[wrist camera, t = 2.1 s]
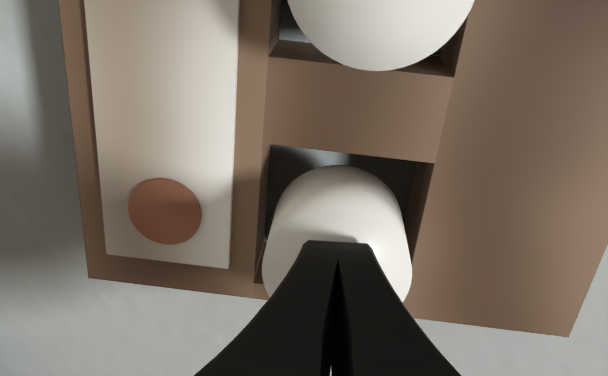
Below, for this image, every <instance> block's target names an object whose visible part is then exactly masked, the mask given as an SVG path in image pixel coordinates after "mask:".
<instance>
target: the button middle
mask: <svg viewBox="0 0 608 376" xmlns="http://www.w3.org/2000/svg"><path fill="white" fill-rule="evenodd" d="M474 1H475V0H288V4H289V6H290V9H291V12H292V15H293V16H294V18H295V20H296V22H297V24H298V26H299V28H300V29H301V30H302V32H303V33H304V35H305V36H306V37H307V38H308V40H309V41H310V42H311V43H312V44H313V45H314V46H315V47H316V48H317V49H319V50H320V51H321V52H322V53H323V54H325V55H327V56H328V57H330V58H331V59H333V60H335V61H337V62H339V63H341V64H343V65H346V66H349V67H352V68H356V69H361V70H367V71H386V70H394V69H398V68H403V67H406V66H409V65H411V64H414V63H416V62H418V61H420V60H422V59H424V58H426V57H428V56H429V55H431V54H432V53H434V52H435V51H437V50H438V49H439V48H440V47H442V46H443V45H444V44H445V43H446V42H447V41H448V40H449V39H450V38H451V37H452V36H453V35H454V34H455V33H456V32H457V30H458V29H459V28H460V26H461V25H462V23H463V22H464V20H465V19H466V17H467V15H468V13H469V12H470V10H471V8H472V5H473V3H474Z"/></svg>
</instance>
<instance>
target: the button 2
mask: <svg viewBox="0 0 608 376" xmlns="http://www.w3.org/2000/svg"><path fill="white" fill-rule="evenodd" d="M308 240H318V241H334V242H351V243H368V245H369V246H370V247H371V248H372V249H373V252H374V254H375V256H376V258H377V260H378V262H379V264H380V266H381V268H382V270H383V272H384V274H385V275H386V277H387V279H388V281H389V282H390V284H391V286H392V287H393V289H394V291H395V292H396V294H397V295H398V297H399V298H400V300H401V301H402V303H403V301H404V300H405V298H406V296H407V294H408V292H409V288H410V285H411V280H412V265H411V259H410V254H409V249H408V244H407V239H406V234H405V229H404V224H403V219H402V214H401V209H400V206H399V203H398V201H397V199H396V197H395V195H394V194H393V192H392V191H391V189H390V188H389V187H388V186H387V185H386V184H385V183H384V182H383V181H382V180H380V179H379V178H378V177H376V176H375V175H373V174H371V173H369V172H367V171H365V170H362V169H359V168H356V167H351V166H345V165H330V166H324V167H319V168H316V169H313V170H310V171H308V172H306V173H304V174H302V175H300V176H299V177H297V178H296V179H295V180H294V181H292V182H291V183H290V184H289V185H288V186H287V188H286V189H285V190H284V192H283V193H282V194H281V196H280V198H279V200H278V203H277V206H276V209H275V213H274V217H273V221H272V225H271V229H270V233H269V237H268V240H267V244H266V248H265V252H264V256H263V261H262V278H263V283H264V286H265V289H266V291H267V293H268V295H269V297H271V296H272V294H273V293H274V292H275V290H276V289H277V287H278V286H279V285H280V283H281V282H282V280H283V279H284V277H285V276H286V275H287V273H288V271H289V270H290V268H291V267H292V265H293V263H294V262H295V260H296V258H297V256H298V254H299V252H300V250H301V248H302V245H303V244H304V243H305V242H307V241H308Z"/></svg>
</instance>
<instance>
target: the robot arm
mask: <svg viewBox="0 0 608 376" xmlns="http://www.w3.org/2000/svg"><path fill="white" fill-rule="evenodd" d="M330 368H331V369H332V376H461V375H460V374H459V373H458V372H457V371H456V369H455V368H454V367H453V366H452V365H451V364H450V363H449V362H448V361H447V360H446V359H445V357H444V356H443V355H442V354H441V353H440V352H439V350H438V349H437V348H436V347H435V346H434V345H433V343H432V342H431V341H430V340H429V338H428V337H427V336H426V334H425V333H424V332H423V331H422V329H421V328H420V327H419V325H418V324H417V323H416V321H415V320H414V319H413V317H412V316H411V314H410V313H409V312H408V310H407V309H406V307H405V306H404V304H403V303H402V301H401V300H400V298H399V297H398V295H397V294H396V292H395V291H394V289H393V287H392V286H391V284H390V282H389V281H388V279H387V277H386V275H385V274H384V272H383V270H382V268H381V266H380V264H379V262H378V260H377V258H376V256H375V254H374V252H373V249H372V248H371V247H370V246H369V245H368V243H351V242H334V241H318V240H308V241H307V242H305V243H304V244H303V245H302V248H301V250H300V252H299V254H298V256H297V258H296V260H295V262H294V263H293V265H292V267H291V268H290V270H289V271H288V273H287V275H286V276H285V277H284V279H283V280H282V282H281V283H280V285H279V286H278V287H277V289H276V290H275V292H274V293H273V294H272V296H271V297H270V298H269V300H268V301H267V302H266V303H265V304H264V306H263V307H262V308H261V309H260V310H259V312H258V313H257V314H256V315H255V316H254V318H253V319H252V320H251V321H250V322H249V324H248V325H247V326H246V327H245V328H244V329H243V330H242V331H241V332H240V333H239V334H238V335H237V336H236V337H235V338H234V340H233V341H232V342H230V343H229V344H228V345H227V346H226V347H225V348H224V349H223V350H222V351H221V352H220V353H219V354H218V355H217V356H216V357H215V358H214V359H212V360H211V361H210V362H209V363H208V364H207V365H206V366H204V367H203V368H202V369H201V370H200V371H199V372H197V373H196V374H195V375H194V376H329V375H330Z"/></svg>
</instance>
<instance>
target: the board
mask: <svg viewBox="0 0 608 376" xmlns="http://www.w3.org/2000/svg"><path fill="white" fill-rule="evenodd" d="M281 2H282V0H59V9H60V19H61V28H62V37H63V46H64V56H65V65H66V74H67V83H68V93H69V102H70V111H71V120H72V130H73V139H74V148H75V157H76V167H77V176H78V185H79V194H80V204H81V213H82V222H83V232H84V241H85V250H86V259H87V269H88V278H93V279H101V280H110V281H118V282H126V283H134V284H142V285H150V286H158V287H166V288H174V289H182V290H191V291H199V292H207V293H215V294H223V295H231V296H239V297H247V298H255V299H263V300H269V298H270V297H269V295H268V293H267V291H266V289H265V286H264V283H263V278H262V261H263V256H264V252H265V248H266V244H267V243H264V236H265V222H266V208H267V195H268V181H269V167H270V153H271V144H273V145H282V146H291V147H299V148H308V149H316V150H325V151H334V152H342V153H351V154H359V155H368V156H376V157H385V158H394V159H402V160H411V161H417V165H416V170H415V175H414V180H413V184H412V189H411V194H410V199H409V203H408V208H407V213H406V218H405V222H404V229H405V234H406V239H407V244H408V249H409V254H410V259H411V265H412V280H411V285H410V288H409V292H408V294H407V296H406V298H405V300H404V301H403V304H404V306H405V307H406V309H407V310H408V312H409V313H410V314H411V316H412V317H413V318H417V319H425V320H434V321H442V322H450V323H458V324H466V325H474V326H482V327H490V328H498V329H506V330H515V331H523V332H531V333H539V334H547V335H555V336H563V337H569V335H570V333H571V330H572V328H573V325H574V323H575V321H576V318H577V316H578V313H579V311H580V309H581V306H582V304H583V302H584V299H585V297H586V294H587V292H588V290H589V287H590V285H591V282H592V280H593V278H594V275H595V273H596V271H597V268H598V266H599V263H600V261H601V259H602V256H603V254H604V251H605V249H606V247H607V244H608V0H475V1H474V3H473V5H472V8H471V10H470V12H469V13H468V15H467V17H466V19H465V20H464V22H463V23H462V25H461V26H460V28H459V29H458V30H457V32H456V33H455V34H454V35H453V36H452V37H451V38H450V39H449V40H448V41H447V42H446V43H445V44H444V45H443V46H442V47H441V51H440V56H439V58H438V57H429V56H428V57H426V58H424V59H422V60H420V61H418V62H416V63H414V64H411V65H409V66H406V67H403V68H398V69H394V70H386V71H367V70H361V69H356V68H352V67H349V66H346V65H343V64H341V63H339V62H337V61H335V60H333V59H331V58H330V57H328V56H327V55H325V54H323V53H322V52H321V51H320V50H319V49H317V48H316V47H315V46H314V45H313V44H312V43H304V42H295V41H286V40H279V29H280V15H281Z"/></svg>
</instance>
